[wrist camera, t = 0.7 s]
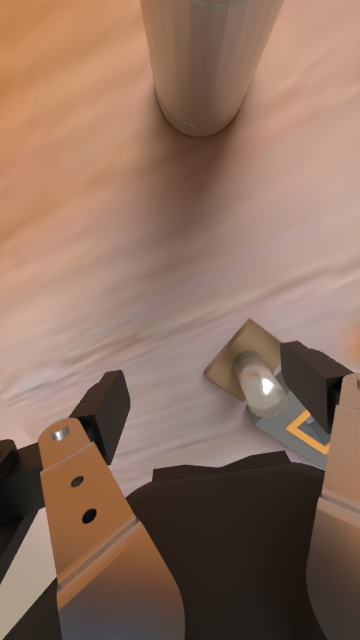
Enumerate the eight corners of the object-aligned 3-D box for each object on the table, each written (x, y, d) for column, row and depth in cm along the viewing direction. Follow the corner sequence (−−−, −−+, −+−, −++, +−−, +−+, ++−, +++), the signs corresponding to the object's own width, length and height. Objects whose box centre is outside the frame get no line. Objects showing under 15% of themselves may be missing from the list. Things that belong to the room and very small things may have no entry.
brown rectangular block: (249, 318, 31) (252, 321, 29) (287, 346, 32) (292, 350, 31) (203, 371, 33) (204, 376, 32) (240, 395, 35) (243, 401, 33)
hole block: (302, 348, 32) (319, 363, 28) (374, 402, 35) (399, 422, 31) (246, 406, 35) (254, 426, 31) (315, 451, 38) (331, 475, 34)
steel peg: (246, 345, 30) (267, 378, 23) (268, 361, 31) (296, 398, 24) (226, 366, 32) (240, 405, 24) (249, 381, 32) (269, 423, 25)
